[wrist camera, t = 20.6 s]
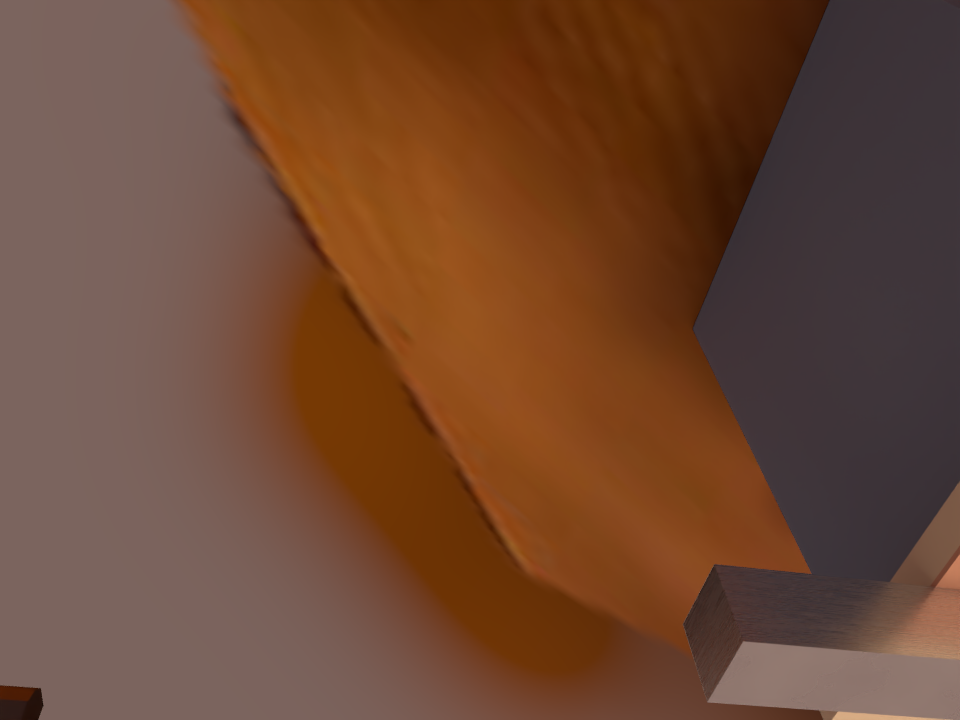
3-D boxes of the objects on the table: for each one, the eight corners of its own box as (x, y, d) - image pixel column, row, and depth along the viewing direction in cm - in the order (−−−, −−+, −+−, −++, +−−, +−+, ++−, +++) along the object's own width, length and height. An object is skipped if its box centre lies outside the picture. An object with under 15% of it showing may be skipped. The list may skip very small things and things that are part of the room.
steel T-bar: (743, 508, 27) (776, 584, 25) (1177, 558, 30) (1245, 631, 28) (659, 669, 32) (680, 747, 29) (1045, 699, 35) (1094, 773, 32)
